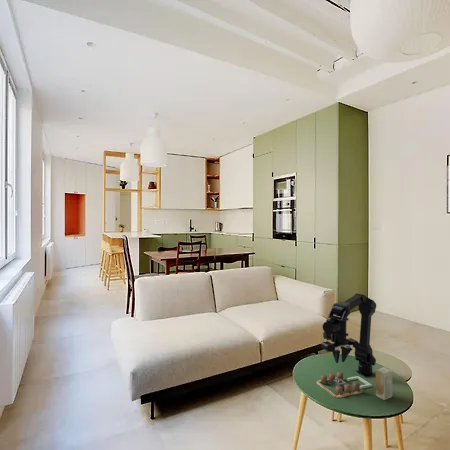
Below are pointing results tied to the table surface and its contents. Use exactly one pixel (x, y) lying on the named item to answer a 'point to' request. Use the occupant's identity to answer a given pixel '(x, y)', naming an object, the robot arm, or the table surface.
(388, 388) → the skincare box
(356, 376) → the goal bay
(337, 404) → the table surface
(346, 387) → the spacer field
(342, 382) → the grey knob block
